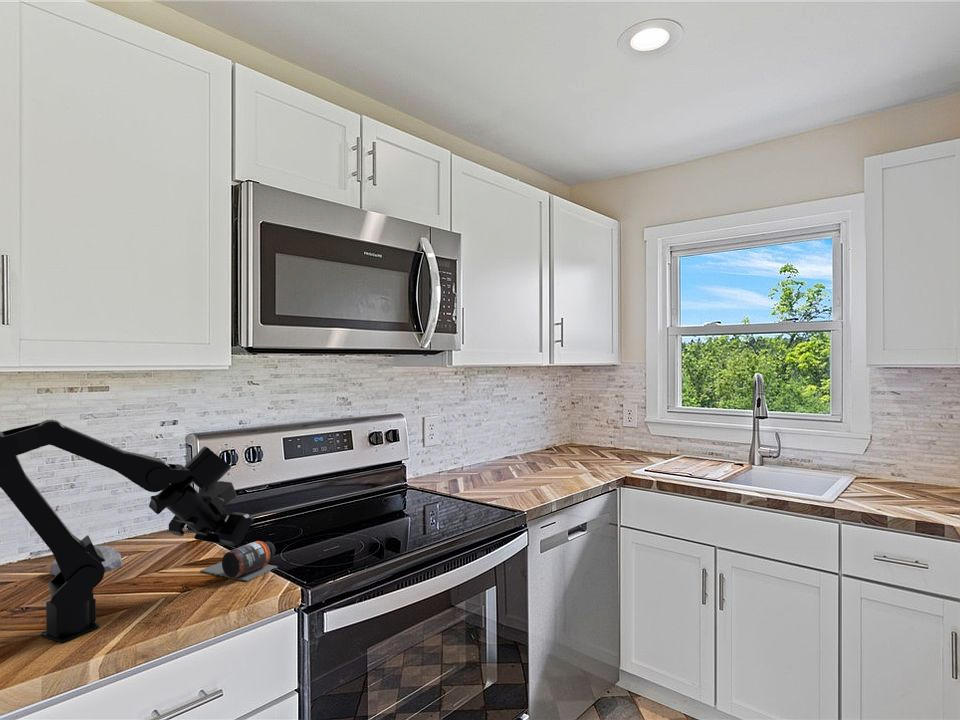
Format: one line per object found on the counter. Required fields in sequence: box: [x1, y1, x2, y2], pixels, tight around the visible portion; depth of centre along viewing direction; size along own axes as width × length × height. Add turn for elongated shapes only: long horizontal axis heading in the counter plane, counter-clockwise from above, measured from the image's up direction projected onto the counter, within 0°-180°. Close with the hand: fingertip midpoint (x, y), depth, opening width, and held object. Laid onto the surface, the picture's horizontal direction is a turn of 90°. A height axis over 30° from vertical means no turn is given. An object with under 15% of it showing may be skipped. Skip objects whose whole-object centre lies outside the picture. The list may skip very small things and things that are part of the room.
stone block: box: [50, 545, 123, 577], centre depth 134 cm, size 12×5×10 cm
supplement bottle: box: [221, 540, 276, 579], centre depth 133 cm, size 6×6×11 cm
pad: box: [200, 561, 278, 582], centre depth 134 cm, size 9×14×1 cm, turn 66°
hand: (232, 544), depth 127 cm, fingers closed
